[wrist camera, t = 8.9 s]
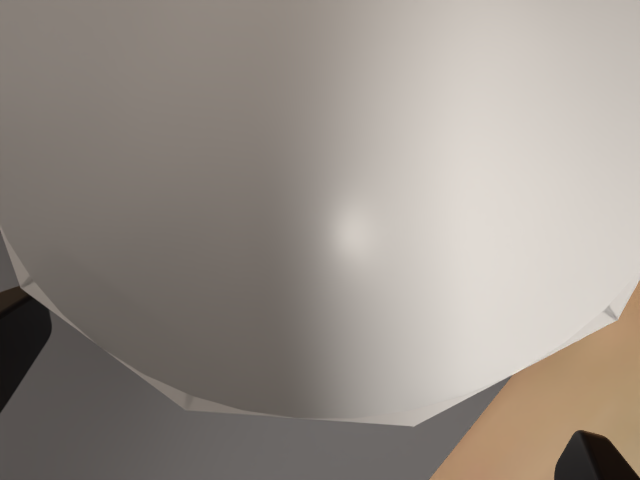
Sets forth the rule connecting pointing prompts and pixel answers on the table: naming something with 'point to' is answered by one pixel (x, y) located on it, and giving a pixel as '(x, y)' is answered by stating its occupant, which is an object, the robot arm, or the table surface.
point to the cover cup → (323, 191)
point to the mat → (191, 428)
